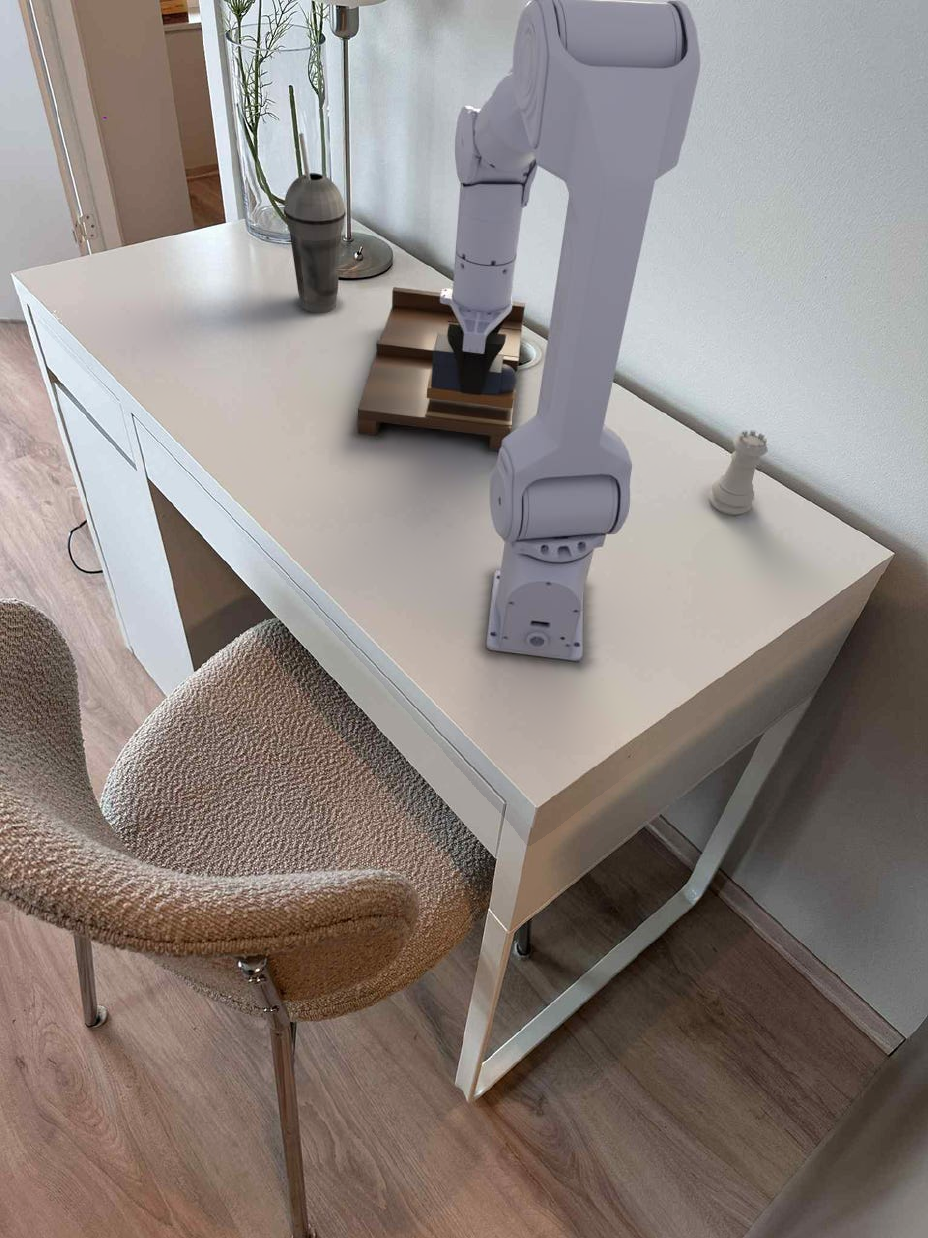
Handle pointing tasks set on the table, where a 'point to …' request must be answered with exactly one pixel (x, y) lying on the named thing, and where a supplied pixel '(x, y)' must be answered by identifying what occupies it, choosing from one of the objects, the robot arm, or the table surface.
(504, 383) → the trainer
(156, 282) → the table surface
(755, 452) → the rook chess piece
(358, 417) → the shoe shelf
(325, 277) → the beverage cup
